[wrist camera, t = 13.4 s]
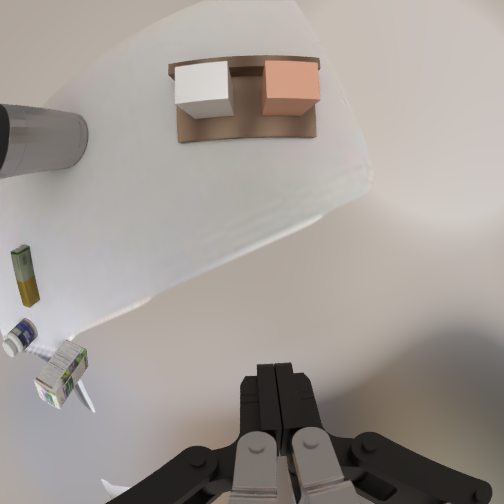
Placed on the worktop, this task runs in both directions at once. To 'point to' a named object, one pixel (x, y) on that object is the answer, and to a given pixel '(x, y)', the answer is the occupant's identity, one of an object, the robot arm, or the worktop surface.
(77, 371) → the syrup box
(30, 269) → the medication box
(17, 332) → the pill bottle
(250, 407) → the robot arm
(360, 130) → the worktop surface
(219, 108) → the grey rectangular block
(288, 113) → the orange tall block
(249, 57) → the console
